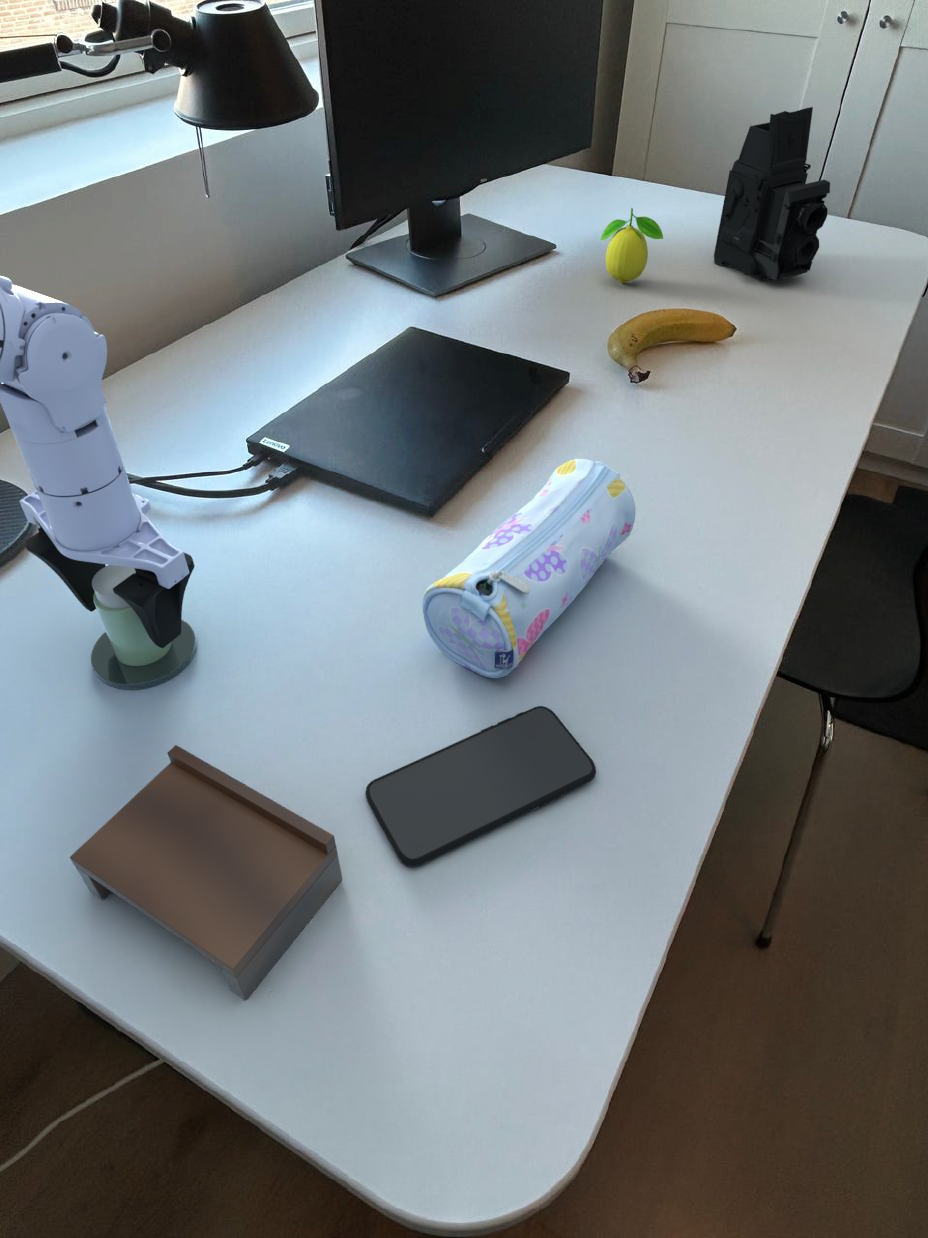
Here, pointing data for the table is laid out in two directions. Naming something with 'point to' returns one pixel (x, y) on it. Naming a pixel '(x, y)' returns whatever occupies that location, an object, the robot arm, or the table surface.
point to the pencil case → (529, 569)
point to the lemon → (629, 247)
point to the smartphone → (478, 784)
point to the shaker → (123, 620)
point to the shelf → (214, 866)
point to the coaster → (144, 675)
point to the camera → (772, 202)
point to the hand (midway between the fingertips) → (133, 620)
